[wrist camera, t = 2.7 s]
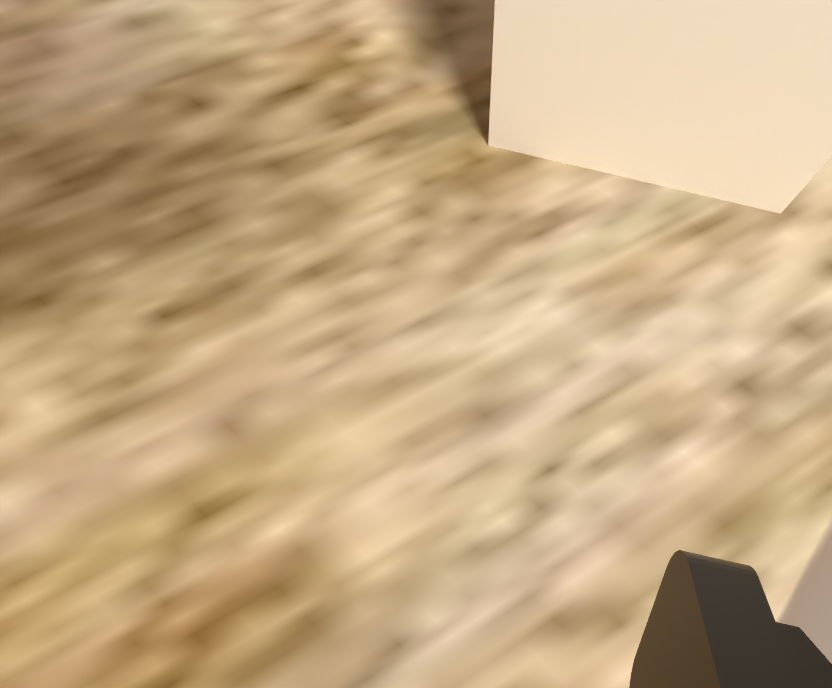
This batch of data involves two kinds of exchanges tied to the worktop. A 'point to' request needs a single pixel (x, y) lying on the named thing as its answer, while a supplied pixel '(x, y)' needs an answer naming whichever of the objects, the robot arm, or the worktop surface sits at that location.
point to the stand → (669, 91)
